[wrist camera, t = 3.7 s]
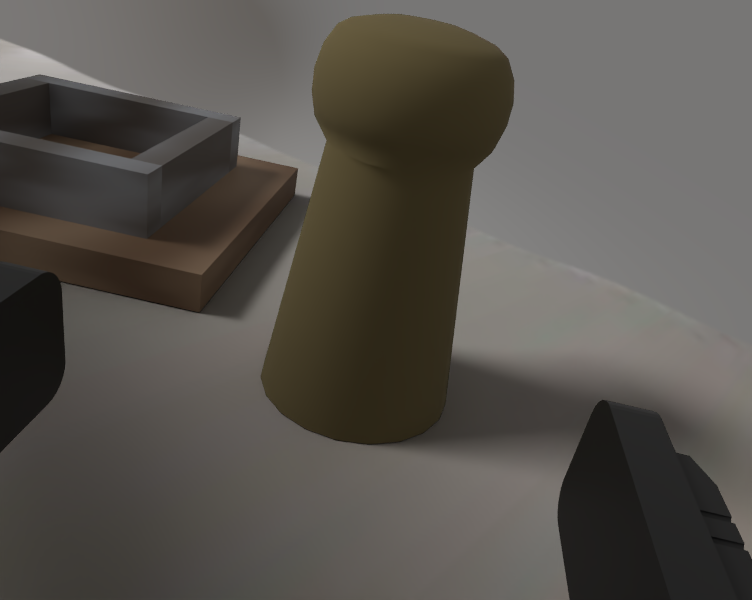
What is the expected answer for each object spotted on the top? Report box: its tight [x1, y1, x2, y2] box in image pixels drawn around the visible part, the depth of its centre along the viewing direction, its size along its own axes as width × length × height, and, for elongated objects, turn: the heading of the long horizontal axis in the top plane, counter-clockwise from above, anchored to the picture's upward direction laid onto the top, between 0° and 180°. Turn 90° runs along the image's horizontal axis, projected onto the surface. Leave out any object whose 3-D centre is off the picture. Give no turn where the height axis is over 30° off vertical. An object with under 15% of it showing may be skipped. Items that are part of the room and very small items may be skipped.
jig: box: [0, 75, 298, 312], centre depth 29 cm, size 16×14×4 cm
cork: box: [261, 14, 514, 444], centre depth 19 cm, size 6×6×11 cm
